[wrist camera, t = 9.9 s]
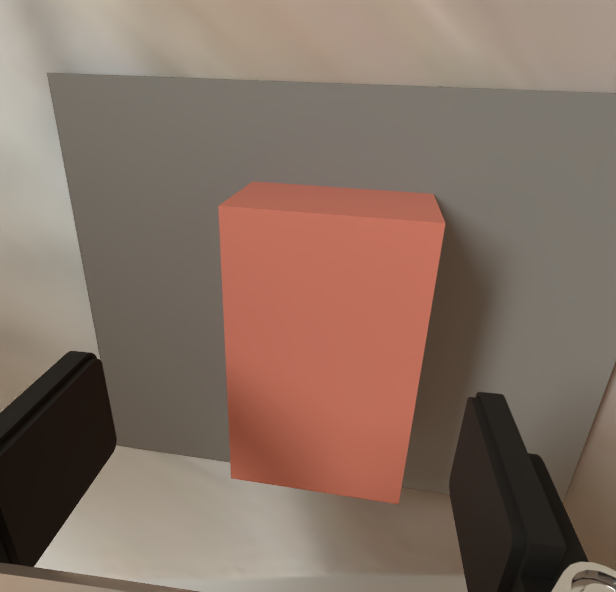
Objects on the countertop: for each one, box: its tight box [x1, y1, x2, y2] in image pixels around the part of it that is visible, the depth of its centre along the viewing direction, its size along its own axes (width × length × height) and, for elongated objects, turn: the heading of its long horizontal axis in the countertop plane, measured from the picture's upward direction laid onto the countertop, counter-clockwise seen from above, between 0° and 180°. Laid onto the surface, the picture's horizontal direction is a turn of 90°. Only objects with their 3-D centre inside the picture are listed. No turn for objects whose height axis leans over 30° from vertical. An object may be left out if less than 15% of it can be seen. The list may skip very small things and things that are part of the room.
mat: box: [47, 73, 616, 504], centre depth 18 cm, size 20×16×1 cm
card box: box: [218, 181, 445, 504], centre depth 16 cm, size 10×6×4 cm, turn 178°
